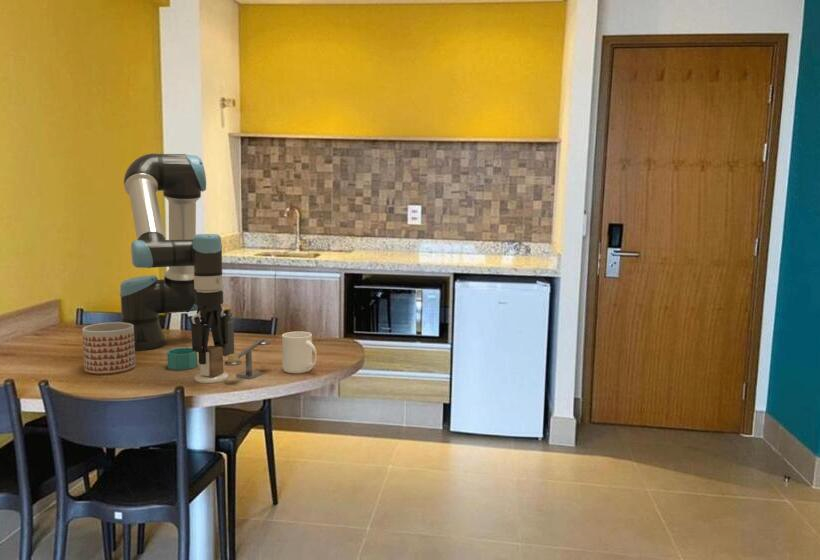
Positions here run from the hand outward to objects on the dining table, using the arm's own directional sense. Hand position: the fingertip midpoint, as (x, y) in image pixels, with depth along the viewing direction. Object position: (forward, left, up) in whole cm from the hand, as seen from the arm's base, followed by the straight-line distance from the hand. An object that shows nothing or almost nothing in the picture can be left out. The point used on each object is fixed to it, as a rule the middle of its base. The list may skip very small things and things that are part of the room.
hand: (211, 372), depth 185 cm
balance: (+7, +7, -2) cm, 10 cm away
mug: (+18, +18, -2) cm, 26 cm away
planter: (-34, -5, -2) cm, 34 cm away
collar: (-17, +7, -2) cm, 18 cm away
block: (0, 0, 0) cm, 0 cm away
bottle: (-16, +25, -2) cm, 29 cm away
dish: (0, 0, -2) cm, 2 cm away
